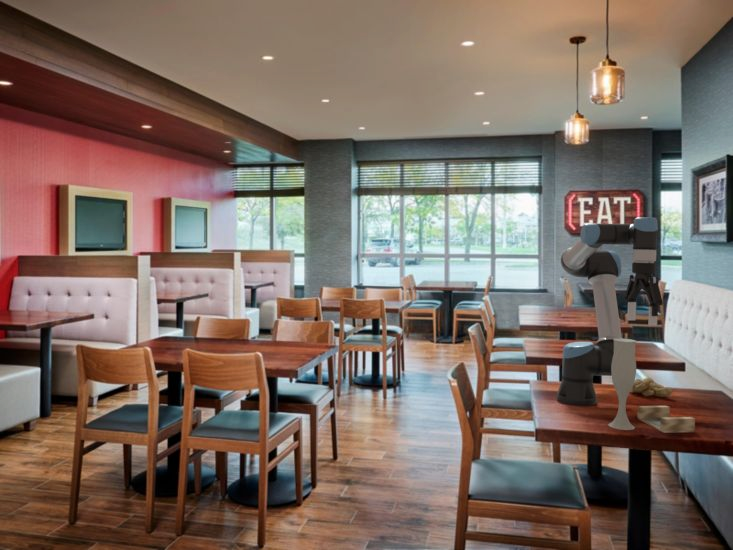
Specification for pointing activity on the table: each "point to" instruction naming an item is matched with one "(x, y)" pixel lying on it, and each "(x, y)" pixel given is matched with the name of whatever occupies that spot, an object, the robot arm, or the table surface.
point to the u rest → (665, 419)
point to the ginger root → (650, 388)
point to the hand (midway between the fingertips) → (641, 322)
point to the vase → (623, 378)
